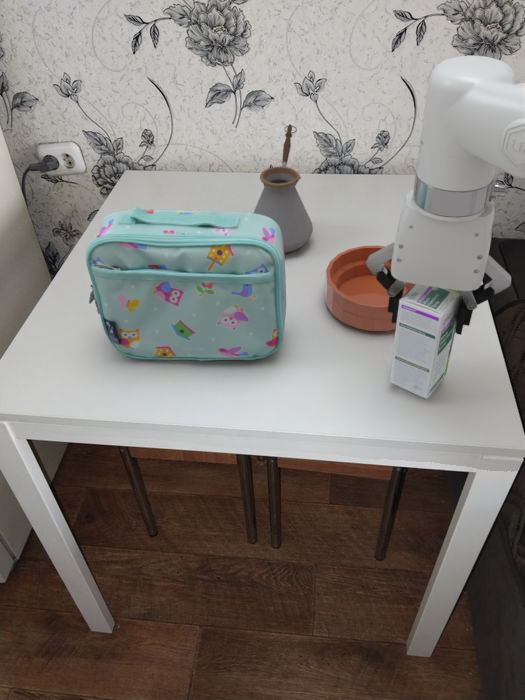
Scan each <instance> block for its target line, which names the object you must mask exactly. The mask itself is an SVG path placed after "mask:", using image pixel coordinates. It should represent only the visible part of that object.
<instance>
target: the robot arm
mask: <svg viewBox="0 0 525 700" xmlns="http://www.w3.org/2000/svg"><path fill="white" fill-rule="evenodd" d="M425 97H426V98H425V104H424V112H423V119H422V125H421V133H420V140H419V149H418V155H417V163H416V171H415V178H414V184H413V189H411V190H409V191H407V193H406V196H405V199H404V201H403V205H402V208H401V211H400V216H399V219H398V223H397V229H396V233H395V238H394V242H392V243H390V244H388V245H385V247H384V248H382V249H380V250H379V251H377V252H375V253H373V254H371V255H369V256H368V258H367V261H366V266H367V267H368V268H369V269H370V271H371V272H372V273H373V274H374V275H375V276H376V279H377V281H378V282H379V283H380V284H381V285H382V286H383V287H384V288H385V289H386V290H387V295H388V296H389V304H388V312H389V313H393V314H392V322H391V323H395V324H396V323H397V316H398V308H399V300H400V299H401V298H402V297H403V291H404V286H405V285H406V284H407V283H413V284H419V285H425V286H432V287H438V288H445V289H452V290H459V291H460V292H461V295H462V300H461V305H460V309H459V314H458V318H457V324H456V330H455V334H456V335H460V336H461V335H462V333H463V330H464V329H463V328H464V326H467V327H469V326H470V324H471V320H472V317H473V313H474V310H476V309H477V308H478V305H480V304H483V303H485V302H486V301H489V300H491V299H493V298H494V296H495V295H496V294H499V293H501V292H503V291H504V290H506V289H508V288H509V287H510V286H511V285H512V276H511V274H510V273H509V272H508V271H506V270H505V268H504V267H502V266H501V265H500V264H499V263H498V262H497V261H496V260H495V259H494V258H493V257H492V256H491V255H490V250H491V249H490V248H491V243H492V236H493V231H494V224H495V223H494V222H495V202H494V200H497V199H505V197H506V193H507V187H508V185H507V184H500V182H497V179H496V178H495V174H496V169H499V170H500V171H502V172H504V173H506V174H508V175H511V176H513V177H516V178H518V179H522V180H525V82H520V83H516V76H515V73H514V70H513V68H512V67H511V66H510V65H509V64H508V63H507V62H505V61H502V60H500V59H497V58H495V57H490V56H485V55H461V56H454V57H450V58H447V59H445V60H442V62H440V63H438V64H437V65H436V66H435V68H433V70H432V71H431V74H430V76H429V79H428V84H427V89H426V96H425ZM391 259H392V263H391V271H390V270H389V269H388V268H387V267H385V266H384V264H383V263H385V262H387V261H389V260H391ZM485 274H486V275H487V276H488V277H489V278H490V279H491V280H490V281H486V282H484V283H483V280H484V277H485Z"/></svg>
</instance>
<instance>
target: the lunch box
mask: <svg viewBox="0 0 525 700" xmlns="http://www.w3.org/2000/svg"><path fill="white" fill-rule="evenodd" d="M253 213H254V212H253ZM253 213H252V212H239V211H228V210H227V211H226V210H225V211H222V210H221V211H220V210H199V209H198V210H197V209H196V210H195V209H194V210H193V209H192V210H191V209H160V208H159V209H152V208H151V209H142V208H141V207H139V206H135V207H134V208H133V209H128V210H120V211H115V212H112V213H109V214H107V215H105V217H104V218H103V219H102V220H101V222H100V226H99V229H98V232H97V233H96V234H95V236H94V238H93V240H92V241H91V242H90V243H89V244H88V246H87V249H86V252H85V263H86V267H87V271H88V274H89V277H90V280H91V284H90V288H91V291H90V293H89V300H88V304H89V305H91V304H92V303H93V301H94V304H95V307H96V311H97V314H98V315H99V317H100V320H101V324H102V327H103V331H104V332H105V335H106V337H107V339H108V341H109V343H110V344H111V345H112V346H113V348H114V349H115V350H116V351H117V352H118V353H120V354H121V355H123V356H125V357H127V358H131V359H136V360H159V361H162V360H164V361H165V360H166V361H199V362H201V361H202V362H204V361H205V362H206V361H216V360H217V361H226V360H228V361H230V360H231V361H232V360H233V361H234V360H240V361H248V360H249V361H251V360H259V359H264V358H266V357H269V356H270V355H272V354H274V353H275V352H276V351H278V350H279V348H280V347H281V345H282V343H283V339H284V333H285V322H286V314H287V282H286V281H287V280H286V278H287V277H286V259H285V253H284V244H283V238H282V233H281V230H280V228H279V226H278V224H277V223H276V222H275V221H274V220H273V219H271V218H269V217H267V216H264V215H260V214H253Z"/></svg>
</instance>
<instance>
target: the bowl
mask: <svg viewBox="0 0 525 700" xmlns="http://www.w3.org/2000/svg"><path fill="white" fill-rule="evenodd" d="M384 247H386V245H385V246H384V245H361V246H357V247H356V246H355V247H352V248H349V249H346V250H344V251H342V252H340V253H338V254H337V255H335V257H333V258H332V259H331V260H330V261H329V263H328V265H327V268H326V271H325V284H324V285H325V286H324V288H325V289H324V299H325V305H326V307H327V309H328V310H329V312H330V313H331V314H332V315H333V316H334V317H335V318H337V319H338V320H339V321H340V322H341V323H343V324H345V325H348V326H350V327H353V328H355V329H358V330H362V331H363V330H364V331H369V332H390V331H393V330H396V324H397V323H396V324H395V323H391V322H392V314H393V313H389V312H388V304H389V296H388V295H387V290H386V289H385V288H384V287H383V286H382V285H381V284H380V283H379V282H378V281H377V279H376V276H375V275H374V274H373V273H372V272H371V271H370V269H369V268H368V267H367V266H366V261H367V258H368V256H369V255H371V254H373V253H375V252H377V251H379V250H380V249H382V248H384ZM391 263H392V259H391V260H389V261H387V262H385V263H383V264H384V266H385V267H387V268H388V269H389V270H390V271H391ZM413 285H414V284H413V283H407V284H406V285H405V286H404V291H403V296H404V295H405V293H406V292H407V291H408V290H409V289H410V288H411V287H412V286H413Z"/></svg>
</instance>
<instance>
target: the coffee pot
mask: <svg viewBox="0 0 525 700" xmlns="http://www.w3.org/2000/svg"><path fill="white" fill-rule="evenodd" d="M286 128H287V129H286ZM293 128H294V129H295V131H293ZM283 129H284V132H285V134H284V136H285V140H284V143H283V148H282V158H281V159H282V160H281V163H282V165H281V166H273V167H268V168H266V169H264V170H263V171H262V172H261V173H260V174H259V180H260V182H261V183H262V184H263V189H262V191H261V194H260V197H259V199H258V201H257V204H256V206H255V208H254V210H253V214H260V215H264V216H267V217H269V218H271V219H273V220H274V221H275V222H276V223H277V224H278V226H279V228H280V230H281V233H282V238H283V244H284V254H290V253H292V252H295V251H296V250H298V249H299V248H300V247H302V246H303V245H304V244H306V243H307V242H308V241H309V239H310V238H311V236H312V233H313V230H314V226H313V222H312V220H311V218H310V216H309V213H308V212H307V209H306V207H305V205H304V203H303V201H302V199H301V196H300V194H299V192H298V190H297V188H296V186H297V184H298V183H299V181H300V180H301V177H302V176H301V175H300V173H299V172H298V171H297V170H295V169H294V168H292V167H287V164H288V162H289V161H288V160H289V156H290V152H291V145H292V142H291V141H292V140H291V139H292V137H293V134H295V133H296V132H298V131H297V130H298V128H297V127H296V126H294V125H292V124H291V123H290V124H288V125H286V126H284V128H283Z"/></svg>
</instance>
